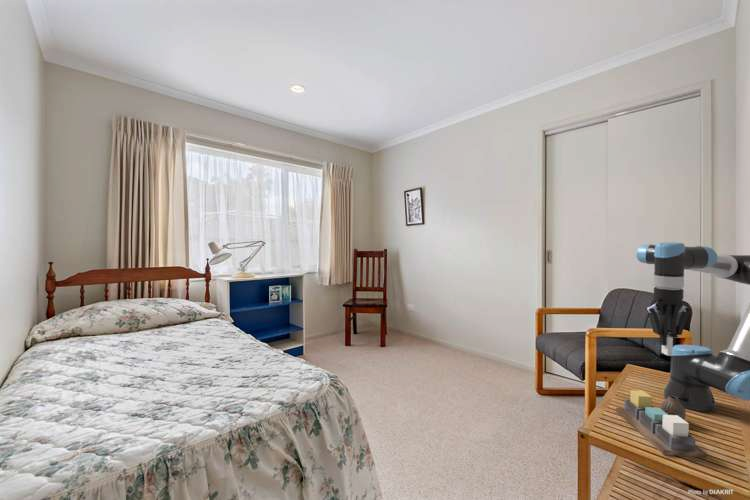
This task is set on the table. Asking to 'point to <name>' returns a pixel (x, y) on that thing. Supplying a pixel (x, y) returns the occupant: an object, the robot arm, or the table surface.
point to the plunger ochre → (640, 399)
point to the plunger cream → (675, 425)
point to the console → (659, 433)
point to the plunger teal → (655, 413)
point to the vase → (673, 407)
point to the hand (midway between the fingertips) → (666, 354)
